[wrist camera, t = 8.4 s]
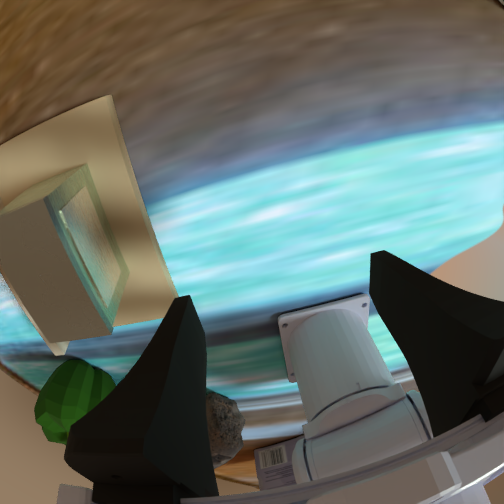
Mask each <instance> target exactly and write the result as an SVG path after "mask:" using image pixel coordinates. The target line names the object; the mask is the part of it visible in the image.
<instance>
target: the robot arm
mask: <svg viewBox="0 0 504 504" xmlns="http://www.w3.org/2000/svg"><path fill="white" fill-rule="evenodd" d="M369 294H370V296H371V299H372V301H373V303H374V305H375V307H376V310H377V312H378V314H379V315H380V317H381V319H382V320H383V322H384V323H385V325H386V327H387V328H388V330H389V332H390V333H391V335H392V336H393V338H394V340H395V341H396V343H397V344H398V346H399V348H400V349H401V351H402V353H403V355H404V356H405V358H406V360H407V362H408V365H409V367H410V369H411V372H412V374H413V376H414V379H415V381H416V384H417V386H418V389H419V391H420V393H419V392H417V391H415V390H411V391H409V392H407V393H406V394H405V392H404V390H403V388H402V386H401V384H400V383H397V384H396V383H395V381H394V379H393V377H392V375H391V373H390V371H389V369H388V368H387V366H386V364H385V362H384V360H383V358H382V356H381V354H380V352H379V350H378V348H377V346H376V345H375V343H374V341H373V339H372V337H371V335H370V333H369V331H368V330H367V329H368V316H369V301H370V298H369V296H368V295H367V294H361V295H357V296H353V297H350V298H346V299H342V300H338V301H335V302H331V303H327V304H323V305H319V306H315V307H311V308H307V309H303V310H299V311H295V312H290V313H286V314H282V315H280V316H279V317H278V325H279V330H280V336H281V341H282V346H283V352H284V357H285V362H286V368H287V373H288V379H289V382H291V383H294V382H297V384H298V388H299V392H300V395H301V399H302V403H303V406H304V410H305V414H306V417H307V421H308V423H307V424H305V425H303V426H302V427H303V431H304V435H305V438H303V439H300V440H298V441H297V443H296V445H295V448H294V450H293V453H292V466H293V472H294V476H295V480H296V483H297V484H296V485H291V486H286V487H281V488H275V489H270V490H264V491H258V492H251V493H243V494H235V495H226V496H219V492H218V488H217V483H216V478H215V473H214V467H213V461H212V455H211V449H210V441H209V434H208V425H207V416H206V365H207V352H206V342H205V332H204V330H203V327H202V325H201V322H200V320H199V317H198V315H197V312H196V310H195V307H194V305H193V302H192V299H191V297H190V295H187V296H182V297H177V298H175V299H174V300H173V302H172V304H171V305H170V307H169V309H168V311H167V313H166V315H165V317H164V318H163V320H162V322H161V324H160V326H159V327H158V329H157V331H156V333H155V334H154V336H153V338H152V340H151V341H150V343H149V344H148V346H147V347H146V349H145V351H144V352H143V354H142V355H141V357H140V358H139V360H138V361H137V362H136V364H135V365H134V366H133V367H132V369H131V370H130V371H129V373H128V374H127V375H126V376H125V377H124V378H123V379H122V381H121V382H120V383H119V384H118V385H117V386H116V387H115V388H114V389H113V390H112V391H111V392H110V393H109V394H108V395H107V396H106V397H105V398H104V399H103V400H102V401H101V402H100V403H99V404H98V405H97V406H95V407H94V408H93V409H92V410H91V411H89V412H88V413H87V414H86V415H84V416H83V417H82V418H80V419H79V420H78V421H76V422H75V423H74V424H72V425H71V427H70V430H69V435H68V439H67V444H66V449H65V454H64V460H65V461H66V463H67V464H68V465H69V466H70V467H71V468H72V469H73V470H75V471H76V472H78V473H80V474H81V475H82V476H84V477H85V478H87V479H89V480H90V481H92V482H93V483H94V484H93V490H92V489H89V488H84V487H79V486H72V485H65V484H60V485H59V491H58V498H57V504H491V503H490V501H489V498H488V496H487V494H486V491H485V489H484V487H483V486H484V485H485V484H487V483H488V482H490V481H491V480H493V479H494V478H496V477H497V476H499V475H500V474H502V473H503V472H504V302H502V301H498V300H494V299H490V298H486V297H483V296H480V295H477V294H473V293H470V292H467V291H465V290H463V289H460V288H457V287H455V286H452V285H450V284H448V283H446V282H443V281H441V280H439V279H437V278H435V277H433V276H431V275H429V274H428V273H426V272H424V271H422V270H420V269H418V268H416V267H415V266H413V265H411V264H409V263H407V262H406V261H404V260H402V259H400V258H398V257H397V256H395V255H393V254H391V253H389V252H387V251H385V250H383V251H379V252H375V253H371V259H370V287H369ZM363 303H364V304H363ZM362 304H363V305H362ZM285 323H287V324H285ZM283 324H285V325H283Z"/></svg>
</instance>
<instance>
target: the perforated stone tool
mask: <svg viewBox="0 0 504 504" xmlns="http://www.w3.org/2000/svg"><path fill="white" fill-rule="evenodd" d="M206 416H207V425H208V434H209V441H210V449H211V455H212V461H213V467H214V469H215V468H217V467H219V466H221V465H223V464H225V463H226V462H228V461H229V460H231V459H232V458H233V457H234V456H235V455H236V454H237V453H238V452H239V451H240V450H241V449H242V447H243V440H242V436H241V431H242V429H243V426H244V424H245V419H244V417H243V415H242V414H241V413H240V412H239V409H238V407H237V403H236V402H235V401H234V400H231V399H229V398H227V397H222V396H220V395H219V394H216V393H214V392H212V393H209V394H207V395H206Z"/></svg>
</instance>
